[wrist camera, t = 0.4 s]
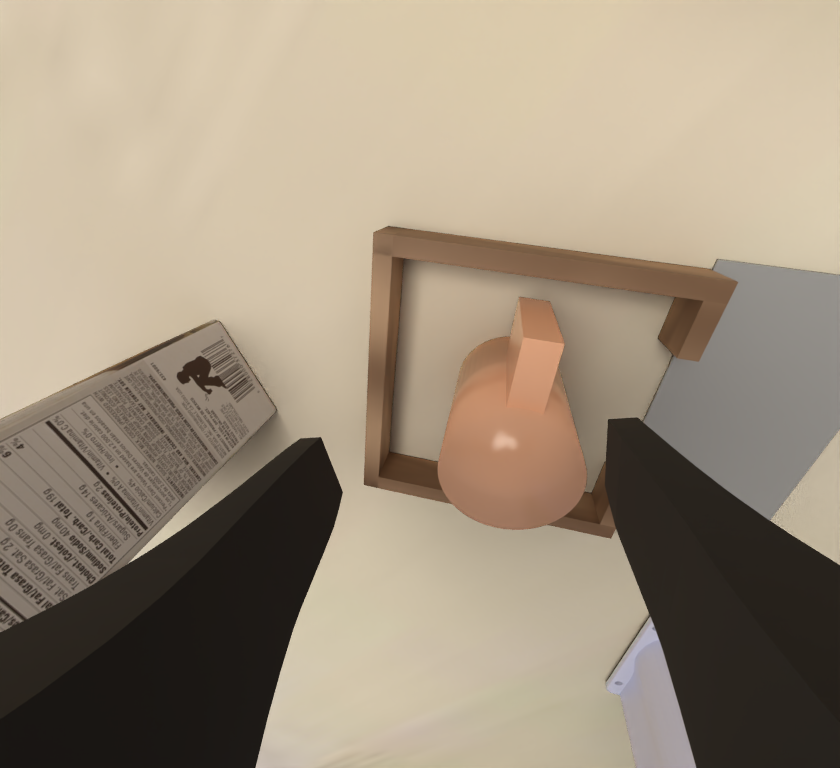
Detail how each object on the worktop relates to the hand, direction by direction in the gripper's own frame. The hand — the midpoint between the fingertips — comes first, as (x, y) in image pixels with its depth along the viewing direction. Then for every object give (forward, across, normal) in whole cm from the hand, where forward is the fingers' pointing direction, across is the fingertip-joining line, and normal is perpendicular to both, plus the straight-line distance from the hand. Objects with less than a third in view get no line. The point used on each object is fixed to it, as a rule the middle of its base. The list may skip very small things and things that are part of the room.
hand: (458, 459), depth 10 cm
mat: (+9, -12, +7) cm, 16 cm away
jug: (+10, -2, +2) cm, 10 cm away
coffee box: (+10, +17, +2) cm, 20 cm away
